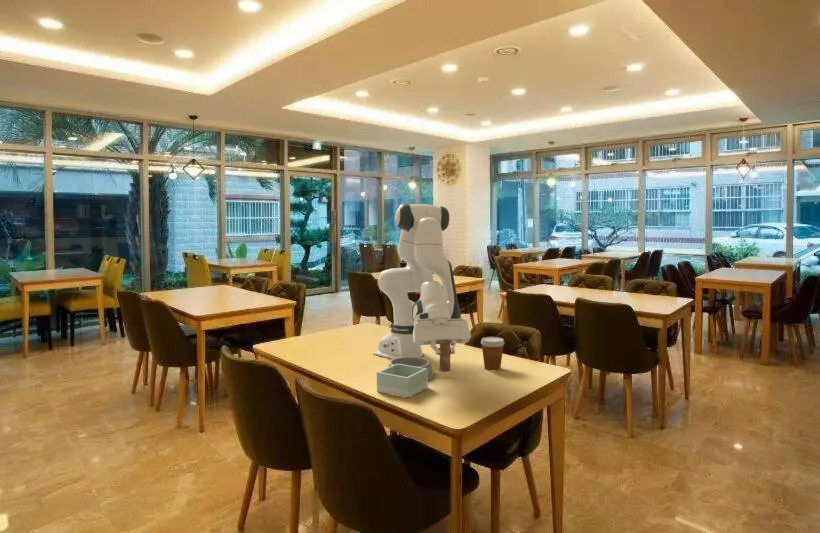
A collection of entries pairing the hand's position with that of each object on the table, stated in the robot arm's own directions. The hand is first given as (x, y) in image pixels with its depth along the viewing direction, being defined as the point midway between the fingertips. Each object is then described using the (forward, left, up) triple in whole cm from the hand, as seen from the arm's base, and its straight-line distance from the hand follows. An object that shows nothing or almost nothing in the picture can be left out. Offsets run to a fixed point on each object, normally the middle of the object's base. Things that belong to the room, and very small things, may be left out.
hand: (445, 353), depth 178 cm
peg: (-1, 0, -6) cm, 6 cm away
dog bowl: (-24, +15, -15) cm, 32 cm away
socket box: (-16, -2, -15) cm, 22 cm away
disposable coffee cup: (+1, +38, -15) cm, 40 cm away
